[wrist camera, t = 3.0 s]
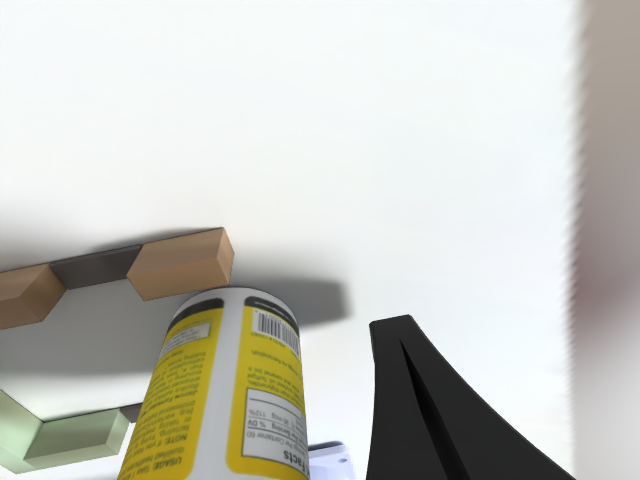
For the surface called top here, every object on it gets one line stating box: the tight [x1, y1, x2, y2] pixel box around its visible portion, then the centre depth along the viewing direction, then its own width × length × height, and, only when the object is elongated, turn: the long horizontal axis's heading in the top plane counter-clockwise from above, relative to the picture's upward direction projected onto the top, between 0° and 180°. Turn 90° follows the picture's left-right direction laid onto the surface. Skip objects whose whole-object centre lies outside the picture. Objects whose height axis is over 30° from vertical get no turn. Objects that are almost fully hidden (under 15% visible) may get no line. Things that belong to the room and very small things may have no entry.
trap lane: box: [0, 228, 234, 474], centre depth 12 cm, size 9×12×2 cm
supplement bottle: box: [117, 287, 310, 480], centre depth 9 cm, size 5×5×8 cm
